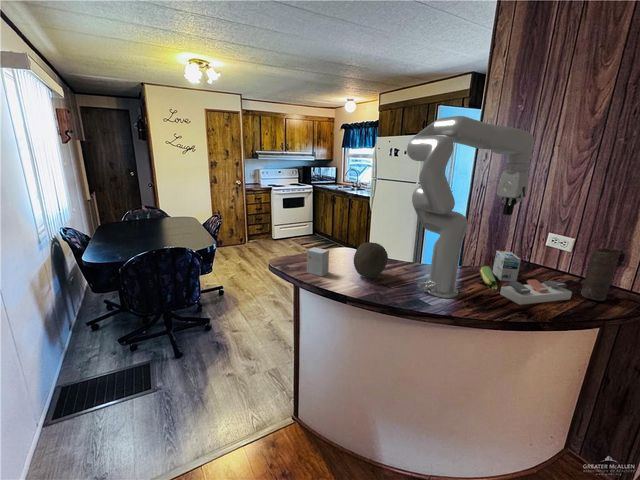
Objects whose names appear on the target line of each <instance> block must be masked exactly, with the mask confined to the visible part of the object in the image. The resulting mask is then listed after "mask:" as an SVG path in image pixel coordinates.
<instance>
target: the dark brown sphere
mask: <svg viewBox="0 0 640 480" xmlns="http://www.w3.org/2000/svg"><path fill="white" fill-rule="evenodd" d="M388 259H389V256H388V252H387V250H386V249H385V247H384V246H383V245H382V244H379V243H377V242H372V241H371V242H370V241H369V242H363V243H361V244H360V245H359V246H358V247H357V249H356V251H355V253H354V255H353V266H354V269H355V270H356V273H357V274H358V275H359V276H361V277H363V278H366V279H370V280H371V279H374V278H376V277H378V276H379V275H381V274H382V272H383V271H384V270H385V268H386V267H387V264H388Z"/></svg>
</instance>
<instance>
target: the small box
mask: <svg viewBox="0 0 640 480" xmlns="http://www.w3.org/2000/svg"><path fill="white" fill-rule="evenodd" d="M329 255H330V250H329V249H324V248H320V247H311V248H308V249H307V250H306V273H307V274H311V275H314V276H318V277H324V276H325V275H327V274H329V265H330V264H329V262H330V259H329V258H330V257H329Z"/></svg>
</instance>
